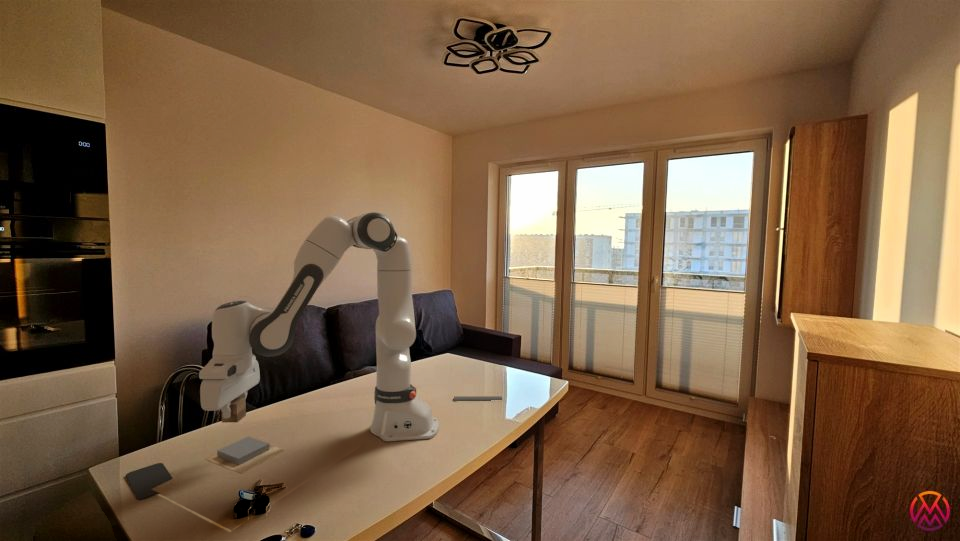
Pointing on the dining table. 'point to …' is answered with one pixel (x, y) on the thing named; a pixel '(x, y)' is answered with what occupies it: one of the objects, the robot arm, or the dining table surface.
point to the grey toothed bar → (477, 398)
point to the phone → (147, 480)
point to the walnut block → (236, 410)
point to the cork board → (247, 464)
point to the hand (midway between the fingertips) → (234, 412)
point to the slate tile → (243, 450)
